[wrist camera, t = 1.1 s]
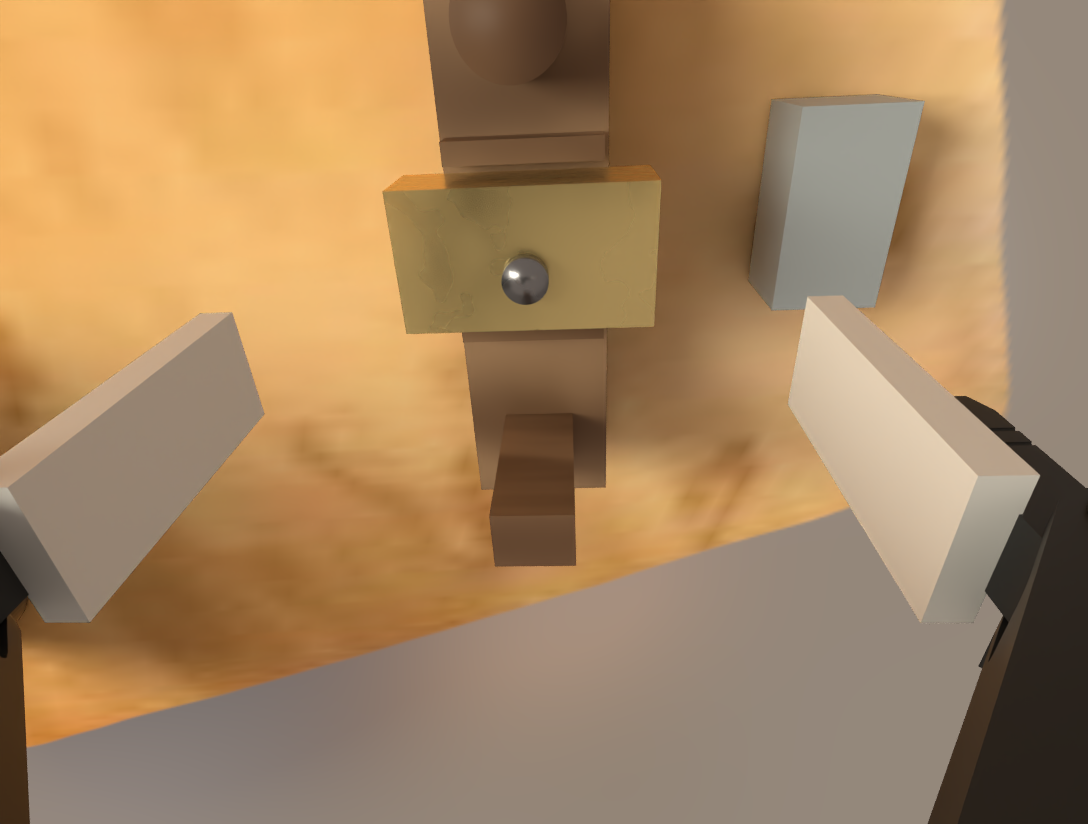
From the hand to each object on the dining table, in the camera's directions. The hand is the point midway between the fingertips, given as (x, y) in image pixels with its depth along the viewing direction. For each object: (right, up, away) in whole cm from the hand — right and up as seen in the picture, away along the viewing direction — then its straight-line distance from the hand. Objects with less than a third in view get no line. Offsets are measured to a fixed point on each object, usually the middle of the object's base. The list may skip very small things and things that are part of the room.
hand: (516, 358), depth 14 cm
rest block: (+13, +9, +14) cm, 21 cm away
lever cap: (0, +5, +9) cm, 11 cm away
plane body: (0, +8, +15) cm, 17 cm away
